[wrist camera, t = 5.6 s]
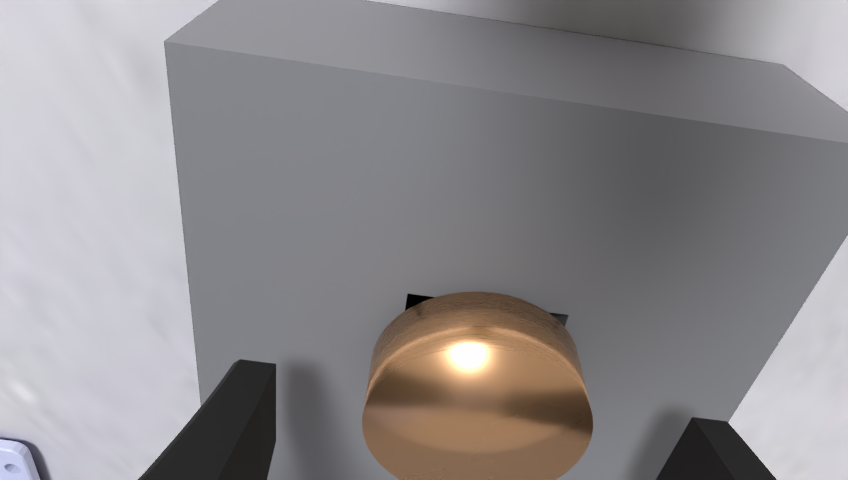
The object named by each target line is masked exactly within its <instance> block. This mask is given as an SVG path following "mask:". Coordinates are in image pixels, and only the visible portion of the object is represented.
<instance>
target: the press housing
mask: <svg viewBox="0 0 848 480" xmlns="http://www.w3.org/2000/svg"><path fill="white" fill-rule="evenodd" d="M164 46H165V56H166V66H167V76H168V86H169V95H170V105H171V115H172V125H173V135H174V145H175V155H176V164H177V174H178V184H179V194H180V204H181V214H182V224H183V233H184V243H185V253H186V263H187V273H188V283H189V293H190V303H191V312H192V322H193V332H194V342H195V352H196V362H197V372H198V381H199V391H200V401H201V406H202V405H203V404H204V402H205V401H206V400H207V398H208V397H209V396H210V395H211V393H212V392H213V391H214V389H215V388H216V387H217V385H218V384H219V383H220V381H221V380H222V379H223V377H224V376H225V375H226V373H227V372H228V370H229V369H230V367H231V366H232V365H233V363H235V362H236V361H238V360H239V359H243V360H251V361H259V362H266V363H274V364H276V443H275V448H274V452H273V456H272V460H271V465H270V469H269V473H268V477H267V480H400V479H398V478H396V477H395V476H394V475H392V474H391V473H389V472H388V471H387V470H386V469H385V468H384V467H383V466H381V465H380V464H379V463H378V461H377V460H376V459H375V458H374V456H373V455H372V454H371V452H370V450H369V448H368V447H367V444H366V442H365V439H364V436H363V430H362V415H363V409H364V403H365V396H366V390H367V384H368V377H369V371H370V364H371V358H372V354H373V349H374V347H375V344H376V342H377V340H378V338H379V337H380V335H381V333H382V332H383V330H384V329H385V328H386V327H387V326H388V325H389V324H390V322H392V321H393V320H394V319H395V318H396V317H397V316H399V315H400V314H401V313H403V312H404V311H406V310H407V309H409V308H411V307H413V306H415V305H417V304H419V303H421V302H423V301H426V300H429V299H432V298H434V297H438V296H442V295H447V294H451V293H460V292H492V293H499V294H504V295H510V296H513V297H516V298H519V299H523V300H525V301H528V302H530V303H532V304H534V305H537V306H538V307H540V308H542V309H543V310H545V311H547V312H548V313H550V314H551V315H552V316H553V317H555V318H556V319H557V320H558V321H559V322H560V323H561V324H562V325H563V326H564V327H565V328H566V330H567V331H568V332H569V334H570V335H571V337H572V339H573V341H574V343H575V345H576V348H577V352H578V355H579V359H580V364H581V368H582V372H583V377H584V381H585V385H586V390H587V394H588V398H589V402H590V407H591V411H592V415H593V431H592V437H591V440H590V443H589V446H588V447H587V449H586V451H585V453H584V454H583V456H582V457H581V458H580V460H579V461H578V462H577V463H576V464H575V465H574V466H573V467H572V468H571V469H570V470H569V471H568V472H566V473H565V474H563V475H562V476H561V477H559V478H558V479H556V480H656V478H657V477H658V475H659V473H660V471H661V470H662V468H663V466H664V465H665V463H666V461H667V459H668V458H669V456H670V454H671V453H672V451H673V449H674V447H675V446H676V444H677V442H678V441H679V439H680V437H681V435H682V434H683V432H684V430H685V429H686V427H687V425H688V423H689V422H690V420H691V418H692V417H697V418H705V419H712V420H720V421H727V422H729V420H730V418H731V417H732V415H733V414H734V412H735V411H736V409H737V408H738V406H739V404H740V403H741V401H742V400H743V398H744V397H745V395H746V393H747V392H748V390H749V389H750V387H751V386H752V384H753V382H754V381H755V379H756V378H757V376H758V375H759V373H760V371H761V370H762V368H763V367H764V365H765V364H766V362H767V360H768V359H769V357H770V356H771V354H772V353H773V351H774V350H775V348H776V346H777V345H778V343H779V342H780V340H781V339H782V337H783V335H784V334H785V332H786V331H787V329H788V328H789V326H790V324H791V323H792V321H793V320H794V318H795V317H796V315H797V313H798V312H799V310H800V309H801V307H802V306H803V304H804V302H805V301H806V299H807V298H808V296H809V295H810V293H811V291H812V290H813V288H814V287H815V285H816V284H817V282H818V281H819V279H820V277H821V276H822V274H823V273H824V271H825V270H826V268H827V266H828V265H829V263H830V262H831V260H832V259H833V257H834V255H835V254H836V252H837V251H838V249H839V248H840V246H841V244H842V243H843V241H844V240H845V238H846V237H847V235H848V112H847V111H846V110H844V109H843V108H842V107H840V106H839V105H838V104H836V103H835V102H834V101H832V100H831V99H829V98H828V97H827V96H825V95H824V94H823V93H821V92H820V91H819V90H817V89H816V88H814V87H813V86H812V85H810V84H809V83H808V82H806V81H805V80H804V79H802V78H801V77H799V76H798V75H797V74H795V73H794V72H793V71H791V70H790V69H789V68H787V67H786V66H784V65H782V64H775V63H769V62H762V61H756V60H749V59H743V58H736V57H730V56H723V55H717V54H710V53H704V52H697V51H691V50H684V49H678V48H671V47H665V46H658V45H652V44H645V43H639V42H632V41H626V40H619V39H613V38H606V37H600V36H593V35H587V34H580V33H574V32H567V31H561V30H554V29H548V28H541V27H535V26H528V25H522V24H515V23H509V22H502V21H496V20H489V19H483V18H476V17H470V16H463V15H457V14H450V13H444V12H437V11H431V10H424V9H418V8H411V7H405V6H398V5H392V4H385V3H379V2H372V1H366V0H219V1H217V2H216V3H215V4H213V5H212V6H211V7H209V8H208V9H207V10H205V11H204V12H203V13H201V14H200V15H199V16H197V17H196V18H195V19H193V20H192V21H190V22H189V23H188V24H186V25H185V26H184V27H182V28H181V29H180V30H178V31H177V32H176V33H174V34H173V35H172V36H170V37H169V38H168V39H166V40H165V41H164Z"/></svg>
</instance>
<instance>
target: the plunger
mask: <svg viewBox="0 0 848 480" xmlns="http://www.w3.org/2000/svg"><path fill="white" fill-rule="evenodd" d="M362 430H363V436H364V439H365V442H366V444H367V447H368V448H369V450H370V452H371V454H372V455H373V456H374V458H375V459H376V460H377V461H378V463H379V464H380V465H381V466H383V467H384V468H385V469H386V470H387V471H388V472H389V473H391V474H392V475H394V476H395V477H396V478H398V479H400V480H556V479H558V478H559V477H561V476H562V475H563V474H565V473H566V472H568V471H569V470H570V469H571V468H572V467H573V466H574V465H575V464H576V463H577V462H578V461H579V460H580V458H581V457H582V456H583V454H584V453H585V451H586V449H587V447H588V446H589V443H590V440H591V437H592V431H593V415H592V411H591V407H590V402H589V398H588V394H587V390H586V385H585V381H584V377H583V372H582V368H581V364H580V359H579V355H578V352H577V348H576V345H575V343H574V341H573V339H572V337H571V335H570V334H569V332H568V331H567V330H566V328H565V327H564V326H563V325H562V324H561V323H560V322H559V321H558V320H557V319H556V318H555V317H553V316H552V315H551V314H550V313H548V312H547V311H545V310H543V309H542V308H540V307H538V306H537V305H534V304H532V303H530V302H528V301H525V300H523V299H519V298H516V297H513V296H510V295H504V294H499V293H492V292H460V293H451V294H447V295H442V296H438V297H434V298H432V299H429V300H426V301H423V302H421V303H419V304H417V305H415V306H413V307H411V308H409V309H407V310H406V311H404V312H403V313H401V314H400V315H399V316H397V317H396V318H395V319H394V320H393V321H392V322H390V324H389V325H388V326H387V327H386V328H385V329H384V330H383V332H382V333H381V335H380V337H379V338H378V340H377V342H376V344H375V347H374V349H373V354H372V358H371V364H370V371H369V377H368V384H367V390H366V396H365V403H364V409H363V415H362Z"/></svg>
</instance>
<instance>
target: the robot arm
mask: <svg viewBox="0 0 848 480" xmlns="http://www.w3.org/2000/svg"><path fill="white" fill-rule="evenodd" d="M275 443H276V364H274V363H266V362H259V361H251V360H243V359H239V360H238V361H236V362H235V363H233V365H232V366H231V367H230V369H229V370H228V372H227V373H226V375H225V376H224V377H223V379H222V380H221V381H220V383H219V384H218V385H217V387H216V388H215V389H214V391H213V392H212V393H211V395H210V396H209V397H208V398H207V400H206V401H205V402H204V404H203V405H202V406H201V407H200V409H199V410H198V411H197V412H196V414H195V415H194V416H193V417H192V418H191V420H190V421H189V422H188V423H187V425H186V426H185V427H184V428H183V429H182V431H181V432H180V433H179V434H178V435H177V436H176V437H175V439H174V440H173V441H172V442H171V443H170V444H169V445H168V447H167V448H166V449H165V450H164V451H163V452H162V454H161V455H160V456H159V457H158V458H157V459H156V460H155V462H154V463H153V464H152V465H151V466H150V467H149V468H148V469H147V471H146V472H145V473H144V474H143V475H142V476H141V477H140V478H139V479H138V480H267V477H268V473H269V469H270V465H271V460H272V456H273V452H274V448H275ZM0 480H40V477H39V475H38V472H37V469H36V466H35V464H34V461H33V458H32V455H31V452H30V450H29V449H28V447H26V446H25V445H24V444H22V443H19V442H16V441H11V440H3V439H0ZM656 480H776V478H775V477H774V476H773V475H772V474H771V473H770V471H769V470H768V469H767V468H766V467H765V465H764V464H763V463H762V462H761V461H760V459H759V458H758V457H757V456H756V455H755V454H754V452H753V451H752V450H751V449H750V448H749V446H748V445H747V444H746V443H745V442H744V441H743V439H742V438H741V437H740V436H739V435H738V434H737V433H736V431H735V430H734V429H733V428H732V427H731V426H730V425H729V424H728V422H727V421H720V420H712V419H705V418H697V417H692V418H691V420H690V422H689V423H688V425H687V427H686V429H685V430H684V432H683V434H682V435H681V437H680V439H679V441H678V442H677V444H676V446H675V447H674V449H673V451H672V453H671V454H670V456H669V458H668V459H667V461H666V463H665V465H664V466H663V468H662V470H661V471H660V473H659V475H658V477H657V478H656Z"/></svg>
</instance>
